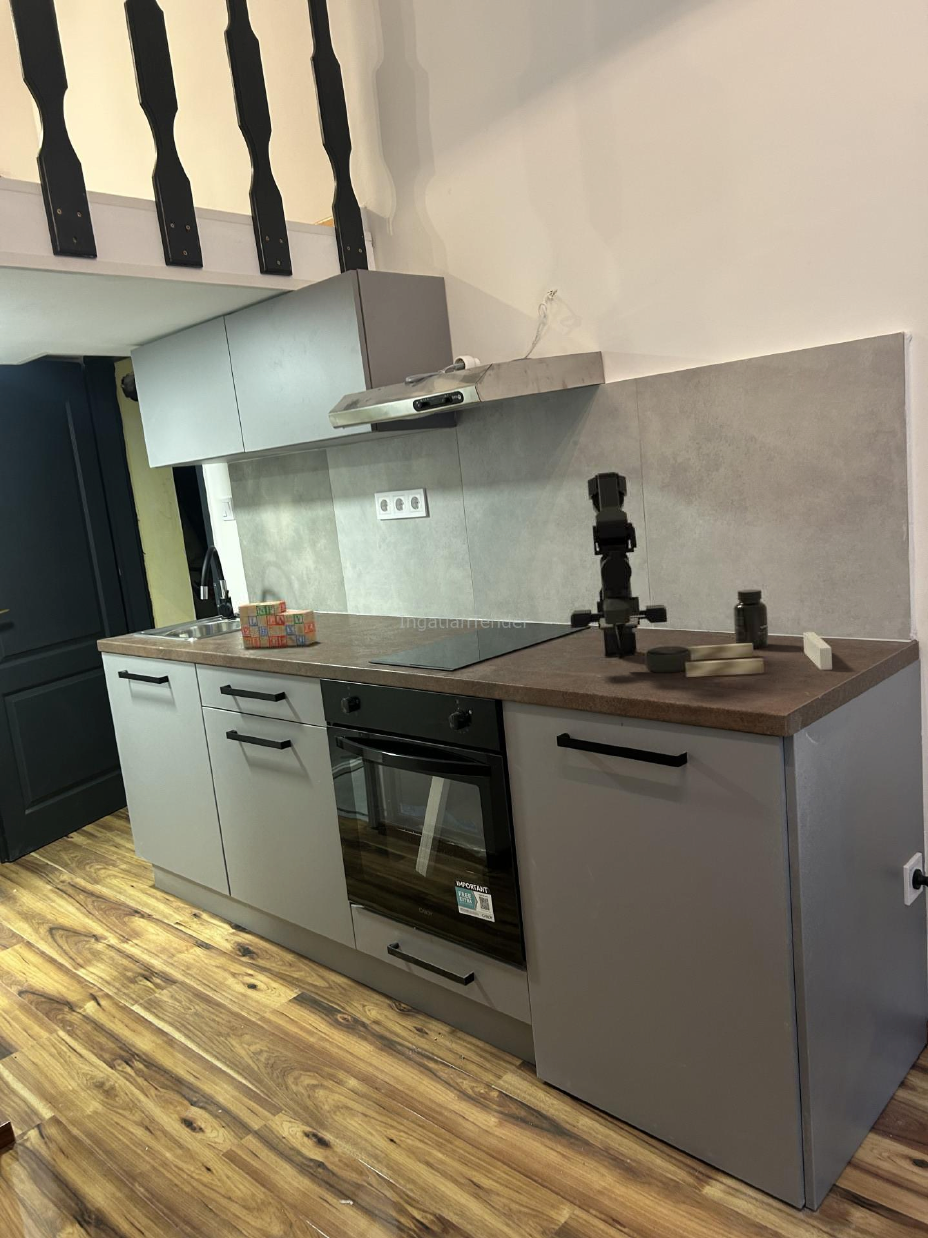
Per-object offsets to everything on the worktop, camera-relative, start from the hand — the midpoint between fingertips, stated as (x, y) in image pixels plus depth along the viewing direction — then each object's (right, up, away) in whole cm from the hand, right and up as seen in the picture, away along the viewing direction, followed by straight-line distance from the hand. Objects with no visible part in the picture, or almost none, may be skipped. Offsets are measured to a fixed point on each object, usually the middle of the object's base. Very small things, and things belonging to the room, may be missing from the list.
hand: (621, 658), depth 181 cm
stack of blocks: (-85, 0, +81) cm, 117 cm away
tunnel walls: (+19, -1, -3) cm, 19 cm away
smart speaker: (+9, -2, -1) cm, 10 cm away
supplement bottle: (+30, +2, +12) cm, 33 cm away
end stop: (+37, 0, -7) cm, 37 cm away
